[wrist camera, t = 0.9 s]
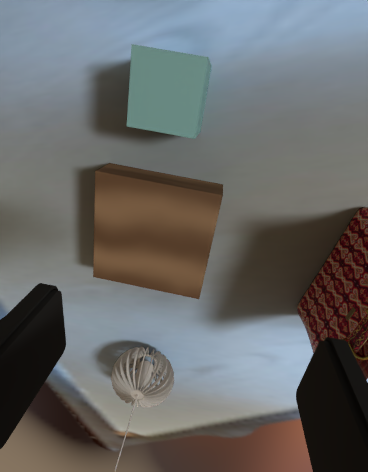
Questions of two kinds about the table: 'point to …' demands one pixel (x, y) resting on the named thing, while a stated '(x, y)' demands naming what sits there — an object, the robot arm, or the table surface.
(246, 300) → the table surface
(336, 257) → the handbag
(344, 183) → the table surface
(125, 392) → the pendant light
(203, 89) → the teal block
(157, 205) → the walnut plinth
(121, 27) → the table surface
